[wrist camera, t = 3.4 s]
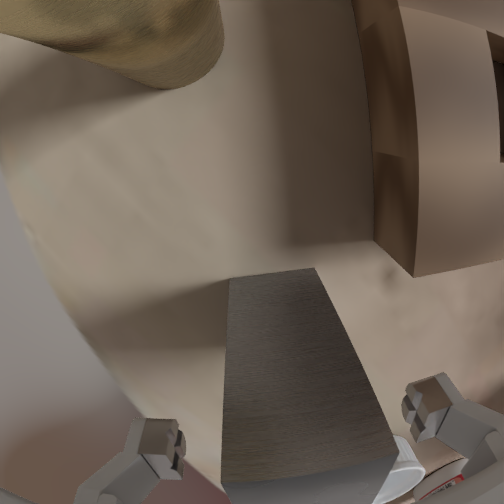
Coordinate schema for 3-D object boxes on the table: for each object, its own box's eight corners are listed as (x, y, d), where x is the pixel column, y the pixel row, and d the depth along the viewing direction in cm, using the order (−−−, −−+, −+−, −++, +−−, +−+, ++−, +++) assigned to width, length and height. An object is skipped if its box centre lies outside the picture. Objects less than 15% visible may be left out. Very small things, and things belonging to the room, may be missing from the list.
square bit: (229, 278, 15) (220, 482, 5) (314, 267, 14) (399, 452, 5) (241, 345, 16) (245, 526, 7) (316, 335, 16) (370, 506, 7)
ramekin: (313, 484, 24) (319, 519, 20) (325, 441, 20) (335, 486, 16) (394, 466, 24) (406, 498, 20) (422, 418, 20) (441, 455, 16)
